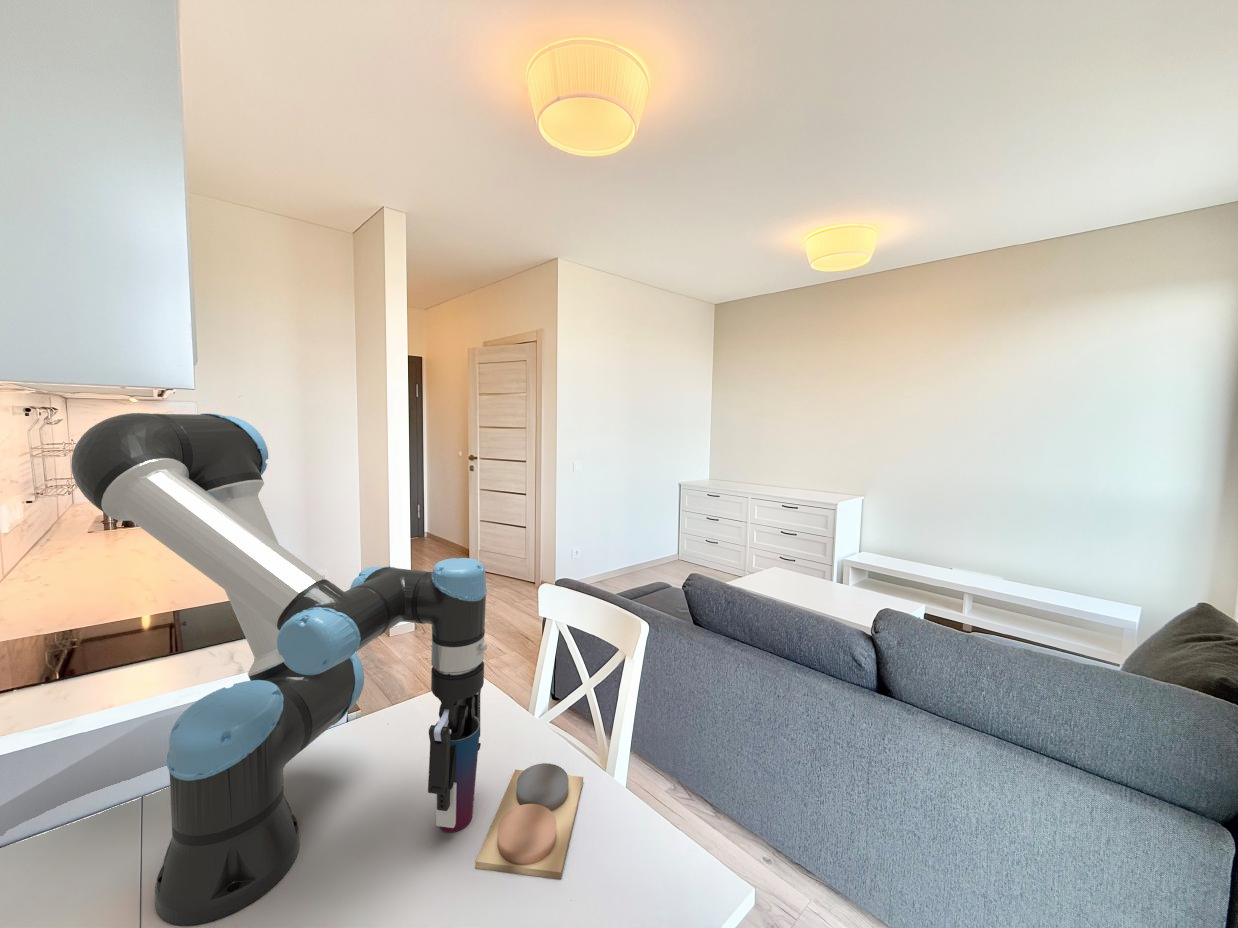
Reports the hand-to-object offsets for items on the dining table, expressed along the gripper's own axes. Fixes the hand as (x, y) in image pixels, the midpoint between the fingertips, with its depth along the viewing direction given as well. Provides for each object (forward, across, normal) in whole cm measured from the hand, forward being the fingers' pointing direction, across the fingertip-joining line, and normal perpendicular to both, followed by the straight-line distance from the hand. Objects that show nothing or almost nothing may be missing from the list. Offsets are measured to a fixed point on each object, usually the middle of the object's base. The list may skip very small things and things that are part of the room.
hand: (455, 806), depth 75 cm
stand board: (+2, +2, -12) cm, 12 cm away
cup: (+2, 0, 0) cm, 2 cm away
